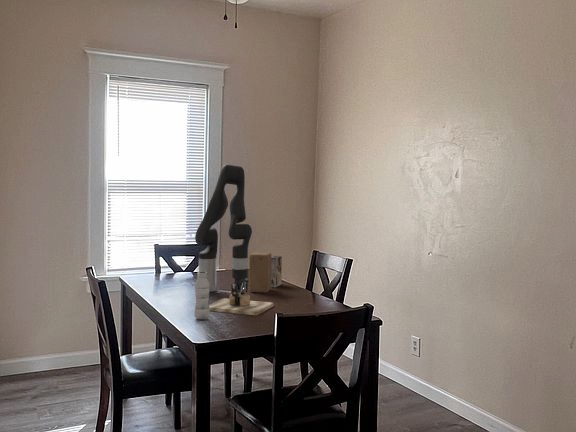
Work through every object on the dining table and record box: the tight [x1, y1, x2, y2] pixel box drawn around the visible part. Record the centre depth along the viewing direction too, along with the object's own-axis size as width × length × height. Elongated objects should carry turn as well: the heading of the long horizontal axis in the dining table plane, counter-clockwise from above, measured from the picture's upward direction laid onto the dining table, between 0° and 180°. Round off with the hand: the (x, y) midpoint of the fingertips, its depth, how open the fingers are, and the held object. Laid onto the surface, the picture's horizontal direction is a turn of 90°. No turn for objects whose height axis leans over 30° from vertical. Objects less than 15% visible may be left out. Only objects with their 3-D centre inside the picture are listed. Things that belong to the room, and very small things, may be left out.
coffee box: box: [271, 255, 283, 288], centre depth 323 cm, size 9×6×16 cm
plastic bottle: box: [193, 271, 211, 321], centre depth 247 cm, size 6×7×20 cm
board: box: [209, 297, 274, 316], centre depth 269 cm, size 26×20×2 cm
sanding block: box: [228, 294, 251, 307], centre depth 269 cm, size 8×5×4 cm, turn 65°
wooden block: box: [248, 251, 273, 294], centre depth 308 cm, size 10×10×20 cm
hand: (239, 303), depth 269 cm, fingers closed on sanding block, 5 cm apart
